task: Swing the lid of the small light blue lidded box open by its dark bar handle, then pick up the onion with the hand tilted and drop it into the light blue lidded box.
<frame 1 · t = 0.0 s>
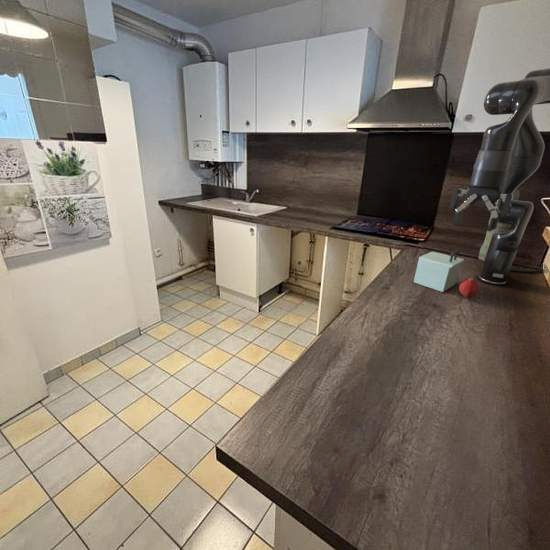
hand: (472, 227, 84), 29 cm above the worktop, tool pointing down, fingers open, 8 cm apart
light blue lidded box: (434, 283, 119), on the worktop
onion: (465, 297, 108), on the worktop
washer lid: (442, 254, 114), point 13 cm above the worktop, hinge at 0.0°
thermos: (488, 260, 148), on the worktop
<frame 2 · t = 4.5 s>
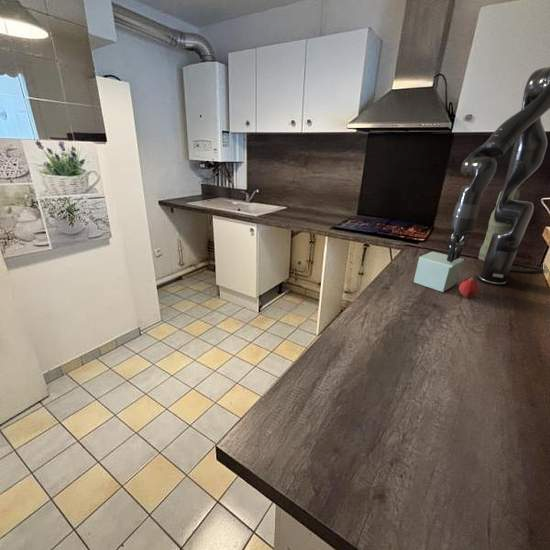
hand: (453, 259, 112), 12 cm above the worktop, tool pointing down, fingers closed on washer lid, 5 cm apart
washer lid: (442, 254, 114), point 13 cm above the worktop, hinge at -0.1°, touching gripper
everything else where it was.
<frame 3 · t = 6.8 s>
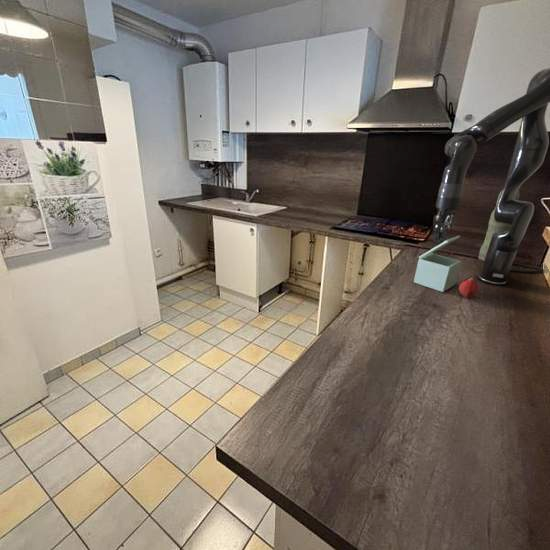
hand: (439, 239, 114), 18 cm above the worktop, tool pointing down, fingers closed on washer lid, 5 cm apart
washer lid: (436, 242, 115), point 17 cm above the worktop, hinge at 46.4°, touching gripper
everything else where it was.
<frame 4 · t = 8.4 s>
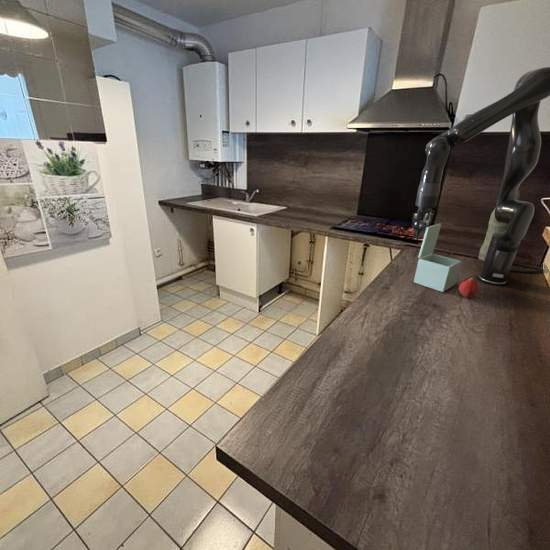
hand: (419, 236, 119), 18 cm above the worktop, tool pointing down, fingers closed on washer lid, 5 cm apart
washer lid: (425, 239, 118), point 17 cm above the worktop, hinge at 87.3°, touching gripper
everything else where it was.
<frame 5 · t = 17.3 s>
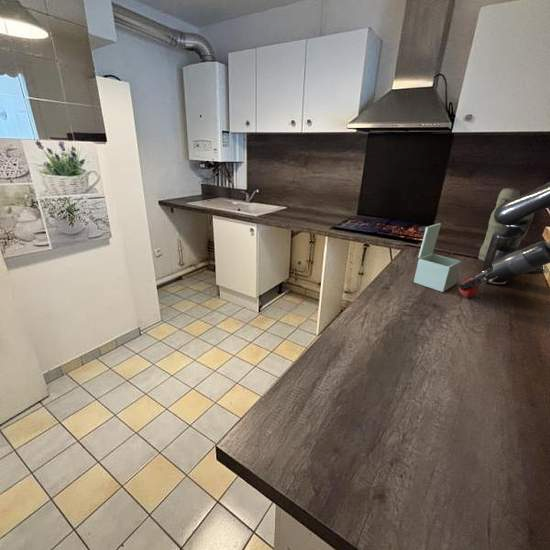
hand: (463, 285, 108), 4 cm above the worktop, tool tilted 45°, fingers closed on onion, 5 cm apart
onion: (465, 297, 108), on the worktop, touching gripper
washer lid: (424, 239, 118), point 17 cm above the worktop, hinge at 88.2°
everything else where it was.
when the fingers open (12 cm above the worktop, at t = 25.3 s): onion drops 6 cm, resting on light blue lidded box.
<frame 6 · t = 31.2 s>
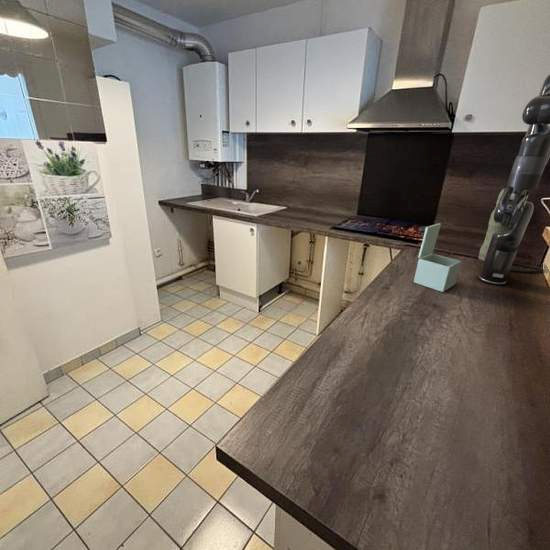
hand: (508, 224, 95), 28 cm above the worktop, tool pointing down, fingers open, 8 cm apart
onion: (434, 280, 118), point 2 cm above the worktop, touching light blue lidded box
everything else where it was.
at the end: washer lid at +88° (first picture: +0°); onion inside the target area in the light blue lidded box (1.3 cm from its centre), point 1.7 cm above the light blue lidded box's base; the gripper is holding nothing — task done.
